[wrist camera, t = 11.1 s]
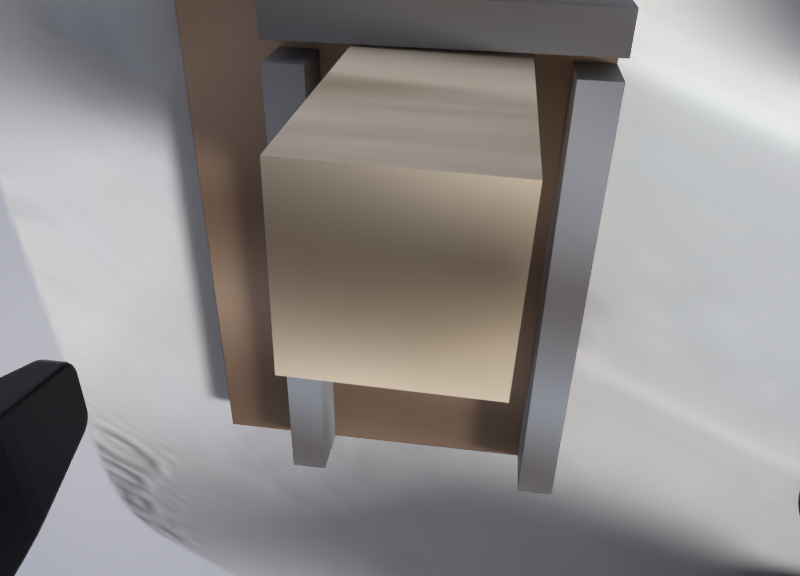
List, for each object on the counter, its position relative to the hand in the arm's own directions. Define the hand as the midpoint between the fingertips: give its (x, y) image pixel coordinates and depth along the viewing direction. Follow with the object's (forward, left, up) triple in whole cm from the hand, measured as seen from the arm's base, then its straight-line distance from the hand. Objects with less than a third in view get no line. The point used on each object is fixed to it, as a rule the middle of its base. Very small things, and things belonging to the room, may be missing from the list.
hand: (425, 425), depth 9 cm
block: (0, +1, -11) cm, 11 cm away
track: (-3, +2, -12) cm, 13 cm away
